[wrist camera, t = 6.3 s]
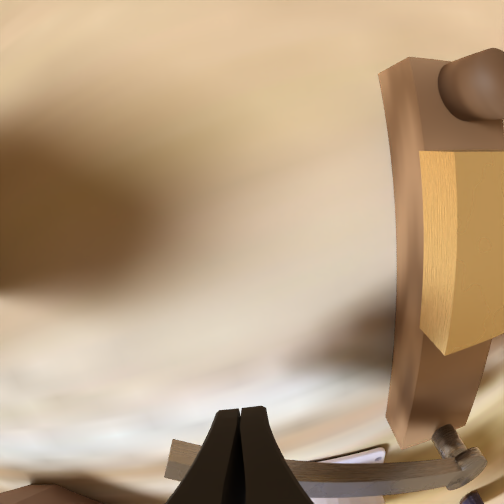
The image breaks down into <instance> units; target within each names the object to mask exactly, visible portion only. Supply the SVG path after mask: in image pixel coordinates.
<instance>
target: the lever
mask: <svg viewBox="0 0 504 504" xmlns="http://www.w3.org/2000/svg"><path fill="white" fill-rule="evenodd" d="M431 439H432V441H433V443H434V445H435V447H436V448H437V450H438V452H439V454H440V456H441V457H442V459H436V460H427V461H415V462H400V463H373V464H351V463H323V462H307V461H295V460H285V461H286V463H287V464H288V466H289V468H290V469H291V471H292V473H293V474H294V476H295V477H296V479H297V480H298V482H299V483H300V485H301V486H302V488H303V489H304V491H305V492H306V493H307V495H308V496H309V497H310V498H351V497H369V496H382V495H392V494H401V493H408V492H415V491H422V490H428V489H434V488H439V487H444V486H446V488H447V489H448V490H454V489H457V488H460V487H462V486H464V485H465V484H467V483H469V482H470V481H472V480H473V479H474V478H475V477H477V476H478V475H479V474H480V473H481V472H482V471H483V469H484V468H485V467H486V465H487V460H486V459H485V457H484V456H483V454H482V453H481V451H480V450H479V448H477V447H473V448H470V449H467V447H466V446H465V444H464V443H463V441H462V440H461V438H460V437H459V435H458V433H457V432H456V430H455V429H454V427H453V426H452V425H451V424H447V425H444V426H442V427H440V428H439V429H438V430H436V431H435V433H434V434H433V435H432V438H431ZM201 447H202V446H200V445H196V444H191V443H187V442H183V441H179V440H175V439H173V440H172V444H171V448H170V453H169V457H168V461H167V466H166V471H165V476H164V477H165V478H169V479H173V480H177V481H182V479H183V478H184V476H185V475H186V473H187V472H188V470H189V468H190V467H191V465H192V463H193V462H194V460H195V458H196V456H197V454H198V452H199V451H200V449H201Z"/></svg>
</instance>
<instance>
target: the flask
mask: <svg viewBox="0 0 504 504" xmlns="http://www.w3.org/2000/svg"><path fill="white" fill-rule="evenodd" d="M460 504H484V503H483V501H482V499H481V498H480V495H479V494H478V493H477V490H475V491H471V492H470V493H468V494H467V495H465V496H464V497H463V498H462V499H461V501H460Z"/></svg>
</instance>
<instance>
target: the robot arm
mask: <svg viewBox="0 0 504 504" xmlns="http://www.w3.org/2000/svg"><path fill="white" fill-rule="evenodd" d="M385 453H386V452H385V449H384V448H382V447H379V448H375V449H372V450H368V451H364V452H360V453H356V454H352V455H348V456H344V457H339V458H335V459H330V460H325V461H320V462H323V463H351V464H373V463H383V462H384V458H385ZM165 504H385V501H384V498H383V495H382V496H369V497H351V498H310V497H309V496H308V495H307V493H306V492H305V491H304V489H303V488H302V486H301V485H300V483H299V482H298V480H297V479H296V477H295V476H294V474H293V473H292V471H291V469H290V468H289V466H288V464H287V463H286V461H285V459H284V457H283V455H282V453H281V451H280V449H279V447H278V445H277V443H276V441H275V439H274V436H273V434H272V431H271V428H270V425H269V421H268V416H267V411H266V408H265V407H263V406H256V407H247V408H242V411H241V416H240V412H239V408H238V409H229V410H219V411H218V412H217V413H216V415H215V418H214V421H213V423H212V425H211V428H210V430H209V432H208V435H207V437H206V439H205V441H204V443H203V445H202V447H201V449H200V451H199V452H198V454H197V456H196V458H195V460H194V462H193V463H192V465H191V467H190V468H189V470H188V472H187V473H186V475H185V476H184V478H183V479H182V481H181V483H180V484H179V486H178V487H177V488H176V490H175V491H174V493H173V494H172V495H171V497H170V498H169V499H168V501H167V502H166V503H165Z"/></svg>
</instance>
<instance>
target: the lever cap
mask: <svg viewBox="0 0 504 504" xmlns="http://www.w3.org/2000/svg"><path fill="white" fill-rule="evenodd" d="M419 157H420V167H421V180H422V196H423V224H424V259H423V287H422V303H421V316H420V327H419V328H420V329H421V330H422V331H423V332H424V333H425V334H426V336H427V337H428V338H429V339H430V340H431V341H432V342H433V343H434V344H435V346H436V347H437V348H438V349H439V350H440V351H441V352H442V353H443V355H444V356H446V355H449V354H452V353H455V352H457V351H460V350H463V349H466V348H468V347H471V346H474V345H476V344H479V343H482V342H484V341H487V340H489V339H492V338H494V337H497V336H499V335H501V334H504V150H482V149H479V150H430V151H419Z"/></svg>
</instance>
